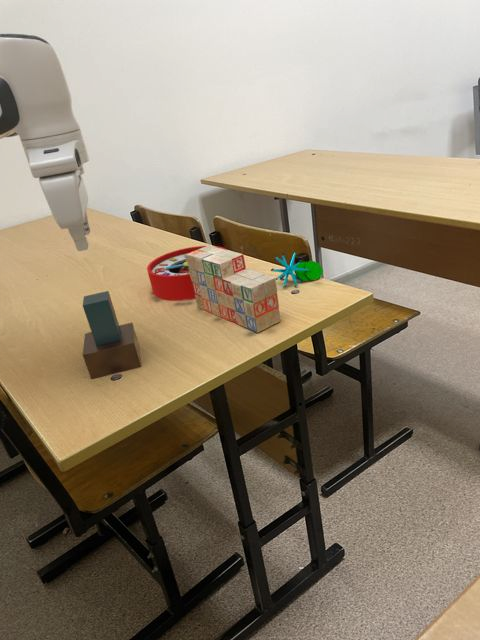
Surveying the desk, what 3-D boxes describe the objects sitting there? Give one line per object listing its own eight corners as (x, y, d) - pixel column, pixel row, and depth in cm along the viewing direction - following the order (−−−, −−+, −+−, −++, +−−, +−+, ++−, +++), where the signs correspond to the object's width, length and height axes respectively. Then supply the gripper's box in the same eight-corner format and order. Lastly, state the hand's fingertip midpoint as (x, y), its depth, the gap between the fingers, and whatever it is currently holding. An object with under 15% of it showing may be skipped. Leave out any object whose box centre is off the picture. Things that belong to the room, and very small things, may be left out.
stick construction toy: (275, 284, 114) (273, 249, 115) (265, 293, 121) (263, 260, 122) (326, 286, 118) (323, 252, 119) (313, 294, 124) (311, 263, 126)
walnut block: (91, 379, 94) (82, 355, 92) (92, 356, 102) (84, 333, 99) (141, 366, 95) (134, 342, 93) (139, 345, 103) (132, 322, 101)
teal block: (96, 346, 94) (82, 305, 90) (96, 335, 98) (83, 296, 94) (120, 340, 95) (108, 299, 91) (120, 330, 98) (108, 290, 95)
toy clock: (235, 265, 117) (145, 283, 116) (239, 289, 120) (152, 307, 119) (225, 240, 135) (147, 255, 133) (229, 262, 138) (153, 277, 136)
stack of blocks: (282, 321, 103) (273, 262, 97) (257, 334, 100) (247, 273, 94) (219, 296, 119) (209, 243, 113) (196, 306, 115) (184, 253, 109)
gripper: (43, 150, 90) (69, 229, 96) (27, 167, 72) (60, 263, 79) (81, 143, 90) (104, 222, 97) (74, 159, 73) (103, 254, 80)
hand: (84, 241), depth 88 cm, fingers open, 8 cm apart
